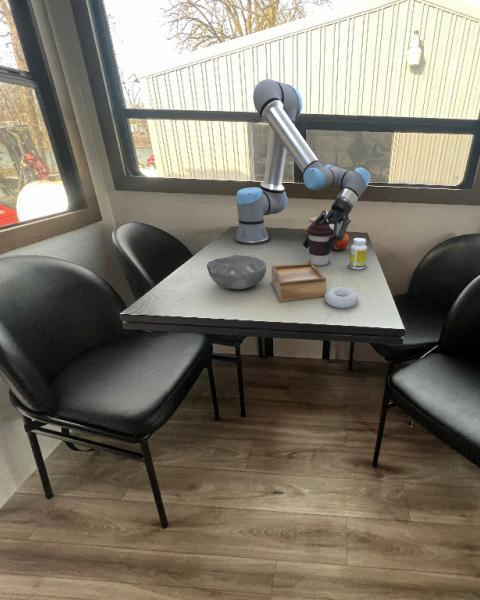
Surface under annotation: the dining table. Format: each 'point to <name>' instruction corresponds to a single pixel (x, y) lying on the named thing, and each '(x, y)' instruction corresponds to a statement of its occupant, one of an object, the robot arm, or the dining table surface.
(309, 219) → the lidded bowl
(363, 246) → the pill bottle
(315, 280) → the wooden box
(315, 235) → the coffee cup
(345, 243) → the tomato
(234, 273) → the bowl
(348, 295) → the donut
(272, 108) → the robot arm
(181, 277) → the dining table surface
